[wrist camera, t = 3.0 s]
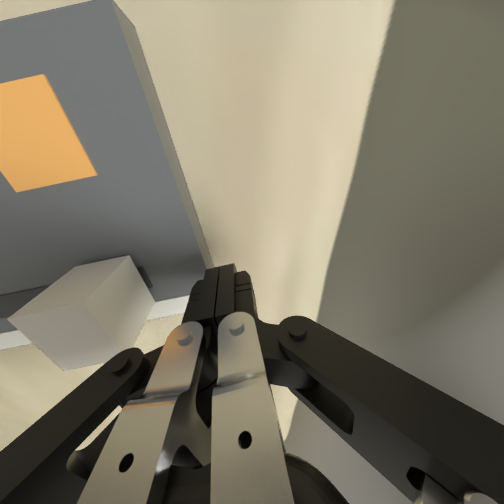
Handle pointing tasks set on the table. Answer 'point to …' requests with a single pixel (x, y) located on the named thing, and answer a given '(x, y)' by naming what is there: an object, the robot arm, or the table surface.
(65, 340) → the outer switch
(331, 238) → the table surface
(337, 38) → the table surface
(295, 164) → the table surface
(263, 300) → the table surface
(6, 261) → the switch panel
